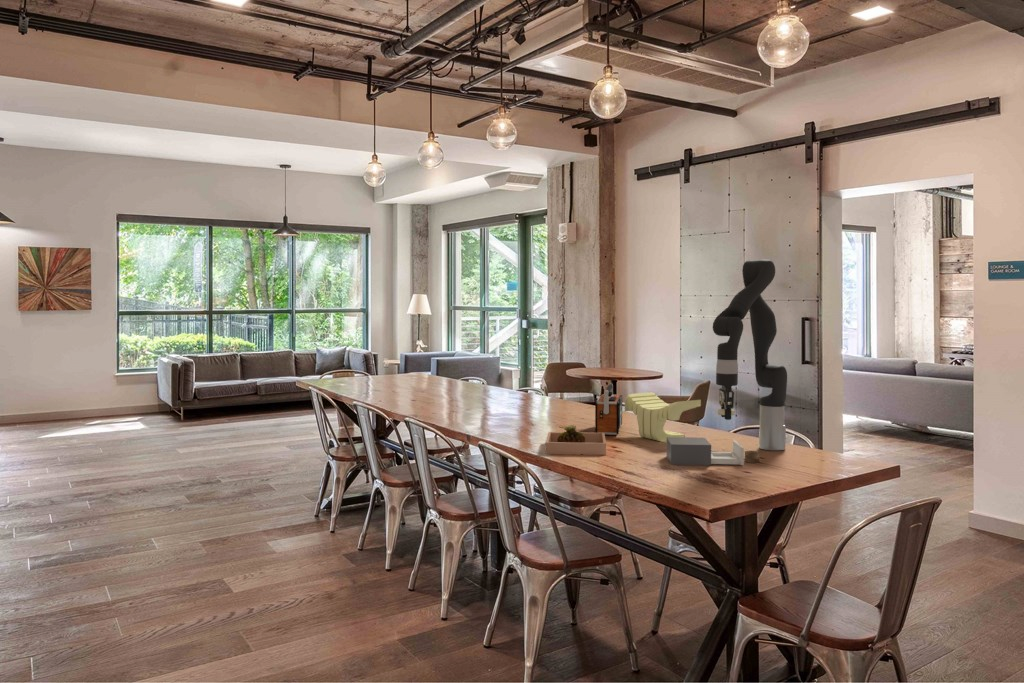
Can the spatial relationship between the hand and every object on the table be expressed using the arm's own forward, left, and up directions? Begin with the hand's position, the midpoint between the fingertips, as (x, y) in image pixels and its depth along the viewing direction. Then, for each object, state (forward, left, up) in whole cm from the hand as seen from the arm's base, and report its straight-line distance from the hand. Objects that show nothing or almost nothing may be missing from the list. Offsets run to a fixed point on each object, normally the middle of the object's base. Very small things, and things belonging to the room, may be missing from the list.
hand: (725, 418), depth 272 cm
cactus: (+57, -20, -17) cm, 62 cm away
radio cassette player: (+40, -63, -16) cm, 76 cm away
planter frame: (+54, -20, -16) cm, 60 cm away
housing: (+13, 0, -16) cm, 21 cm away
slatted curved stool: (+18, -45, -16) cm, 52 cm away
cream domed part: (0, 0, +1) cm, 1 cm away
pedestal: (-10, -1, -16) cm, 19 cm away
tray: (+2, 0, -16) cm, 16 cm away
